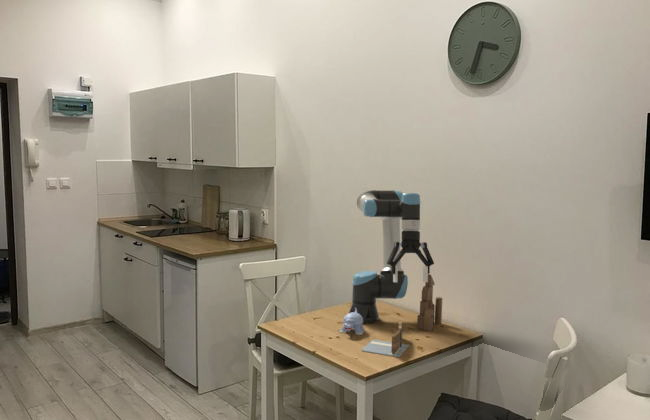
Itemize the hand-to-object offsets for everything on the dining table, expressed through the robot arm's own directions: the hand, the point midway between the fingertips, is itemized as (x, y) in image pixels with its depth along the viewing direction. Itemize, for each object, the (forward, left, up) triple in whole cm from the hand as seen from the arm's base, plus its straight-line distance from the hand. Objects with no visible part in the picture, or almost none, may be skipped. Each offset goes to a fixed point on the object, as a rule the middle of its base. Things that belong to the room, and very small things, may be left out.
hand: (410, 282), depth 221 cm
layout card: (-9, -4, -28) cm, 30 cm away
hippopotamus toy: (-29, +10, -29) cm, 42 cm away
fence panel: (-5, +7, -28) cm, 29 cm away
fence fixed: (-4, -5, -28) cm, 29 cm away
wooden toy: (+1, +35, -28) cm, 45 cm away
